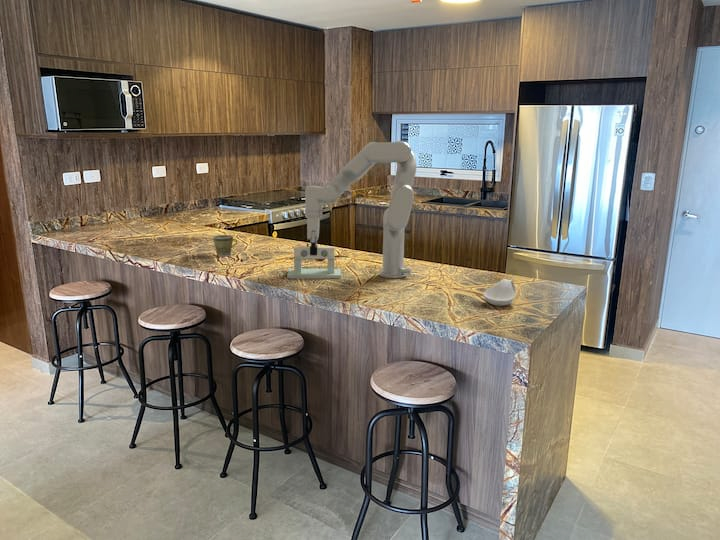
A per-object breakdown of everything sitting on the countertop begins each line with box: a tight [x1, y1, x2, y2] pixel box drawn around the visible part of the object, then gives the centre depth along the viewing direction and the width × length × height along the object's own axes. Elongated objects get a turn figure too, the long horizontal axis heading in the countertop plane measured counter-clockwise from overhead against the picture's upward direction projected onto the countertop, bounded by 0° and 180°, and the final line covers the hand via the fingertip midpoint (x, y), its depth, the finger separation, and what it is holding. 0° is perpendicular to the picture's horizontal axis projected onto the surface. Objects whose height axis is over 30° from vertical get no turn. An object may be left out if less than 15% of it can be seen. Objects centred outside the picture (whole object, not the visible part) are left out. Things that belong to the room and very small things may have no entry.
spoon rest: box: [483, 278, 516, 307], centre depth 217 cm, size 24×12×7 cm, turn 153°
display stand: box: [286, 256, 342, 279], centre depth 248 cm, size 24×12×9 cm, turn 93°
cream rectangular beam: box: [293, 245, 335, 260], centre depth 247 cm, size 18×4×5 cm, turn 93°
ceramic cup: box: [212, 234, 238, 258], centre depth 283 cm, size 13×10×10 cm
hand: (313, 253), depth 247 cm, fingers closed on cream rectangular beam, 3 cm apart
